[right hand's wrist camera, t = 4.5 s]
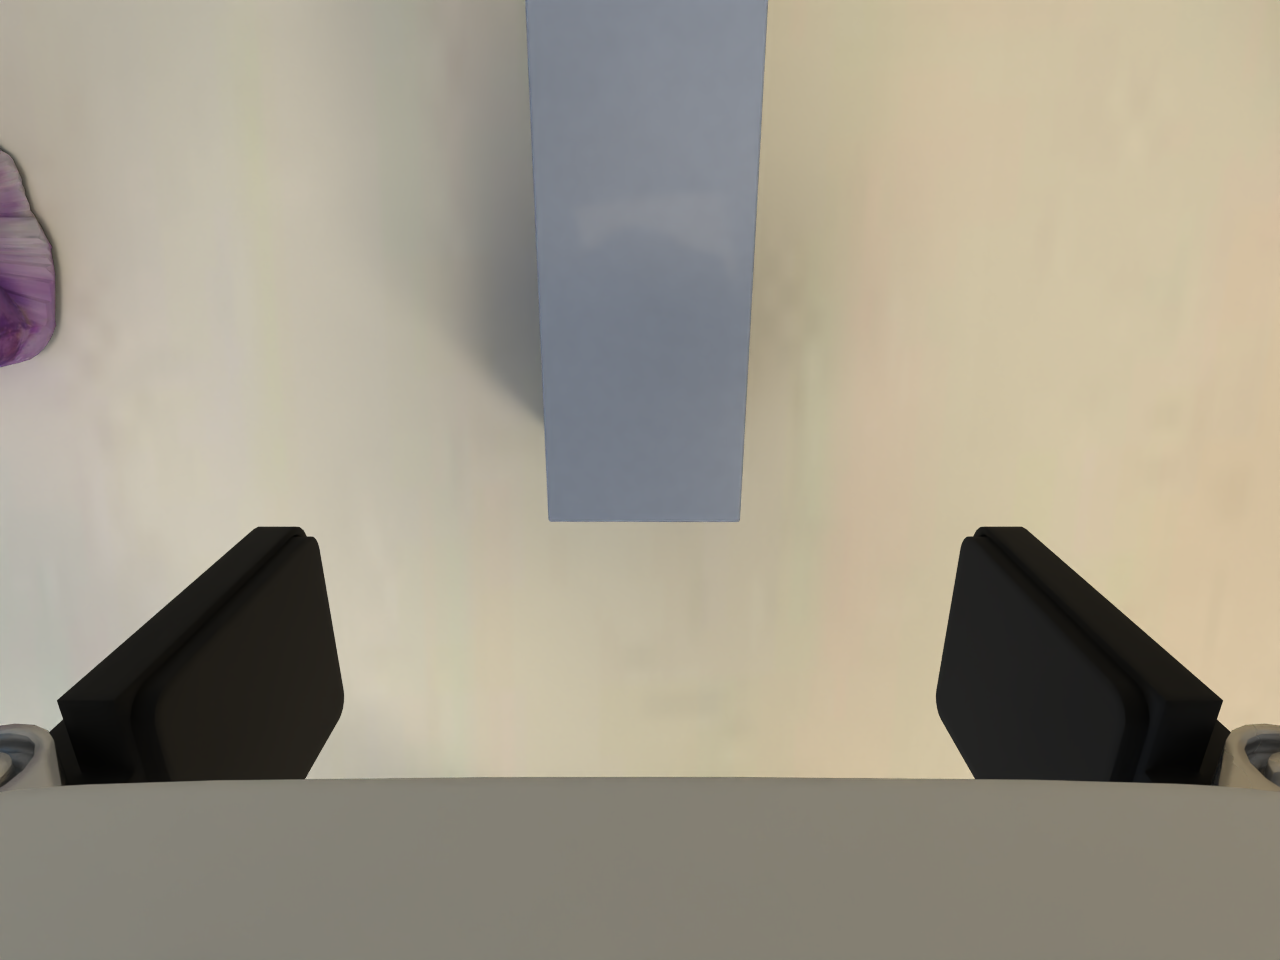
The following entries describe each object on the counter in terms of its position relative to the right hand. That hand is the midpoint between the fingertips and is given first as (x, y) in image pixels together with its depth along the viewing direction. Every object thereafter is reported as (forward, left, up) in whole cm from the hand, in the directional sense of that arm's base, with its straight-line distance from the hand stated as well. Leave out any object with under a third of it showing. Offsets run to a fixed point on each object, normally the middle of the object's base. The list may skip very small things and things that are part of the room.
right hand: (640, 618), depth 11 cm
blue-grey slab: (+1, -3, -22) cm, 23 cm away
